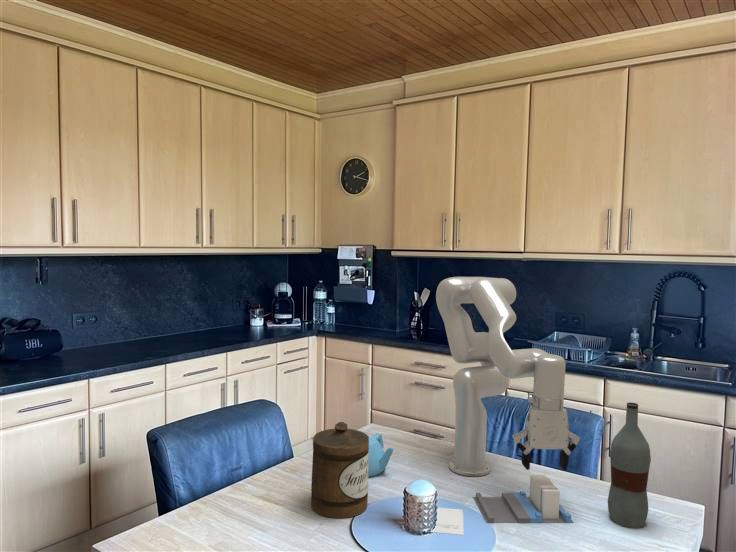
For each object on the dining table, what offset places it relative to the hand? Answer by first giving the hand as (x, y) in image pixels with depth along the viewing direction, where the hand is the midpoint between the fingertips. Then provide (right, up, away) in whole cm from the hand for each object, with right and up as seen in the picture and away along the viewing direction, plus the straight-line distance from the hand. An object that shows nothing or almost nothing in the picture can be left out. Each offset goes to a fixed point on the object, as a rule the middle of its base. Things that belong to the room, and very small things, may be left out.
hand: (544, 467), depth 141 cm
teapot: (-47, -10, +25) cm, 54 cm away
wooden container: (-53, -11, +2) cm, 54 cm away
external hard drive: (-26, -12, -7) cm, 30 cm away
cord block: (0, -11, 0) cm, 11 cm away
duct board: (-6, -12, 0) cm, 13 cm away
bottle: (+20, -13, -3) cm, 24 cm away
